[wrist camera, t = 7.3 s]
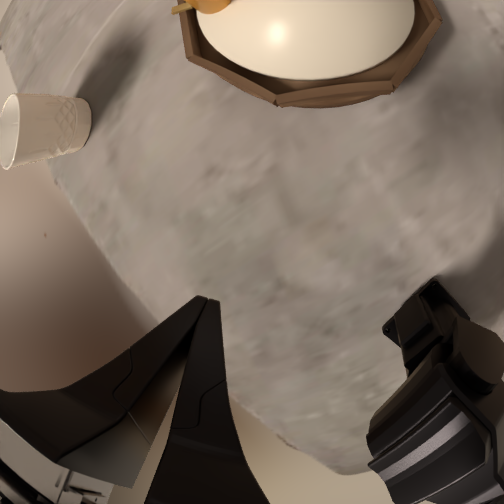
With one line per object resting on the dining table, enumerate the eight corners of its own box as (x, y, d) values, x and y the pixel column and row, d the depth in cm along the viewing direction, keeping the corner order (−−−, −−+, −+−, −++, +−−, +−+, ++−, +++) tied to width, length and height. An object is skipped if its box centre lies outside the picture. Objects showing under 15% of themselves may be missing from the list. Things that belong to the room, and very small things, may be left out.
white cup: (91, 82, 22) (19, 78, 13) (100, 140, 24) (22, 149, 15) (58, 113, 25) (-4, 118, 16) (66, 166, 27) (1, 180, 18)
